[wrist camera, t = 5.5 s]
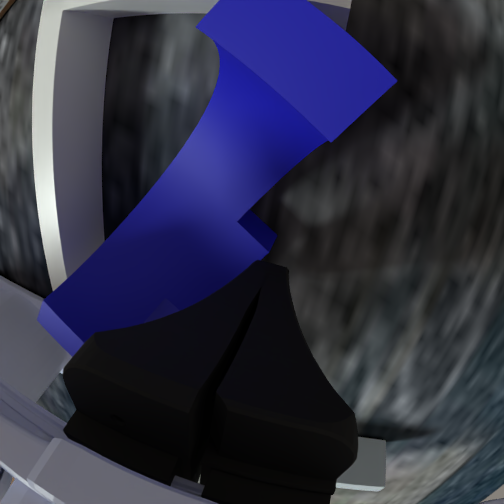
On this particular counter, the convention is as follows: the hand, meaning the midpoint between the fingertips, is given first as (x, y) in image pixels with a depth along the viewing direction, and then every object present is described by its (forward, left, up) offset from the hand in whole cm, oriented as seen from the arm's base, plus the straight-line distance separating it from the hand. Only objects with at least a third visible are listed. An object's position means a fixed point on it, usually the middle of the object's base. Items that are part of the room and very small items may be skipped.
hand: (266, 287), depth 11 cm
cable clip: (-2, +2, -2) cm, 4 cm away
